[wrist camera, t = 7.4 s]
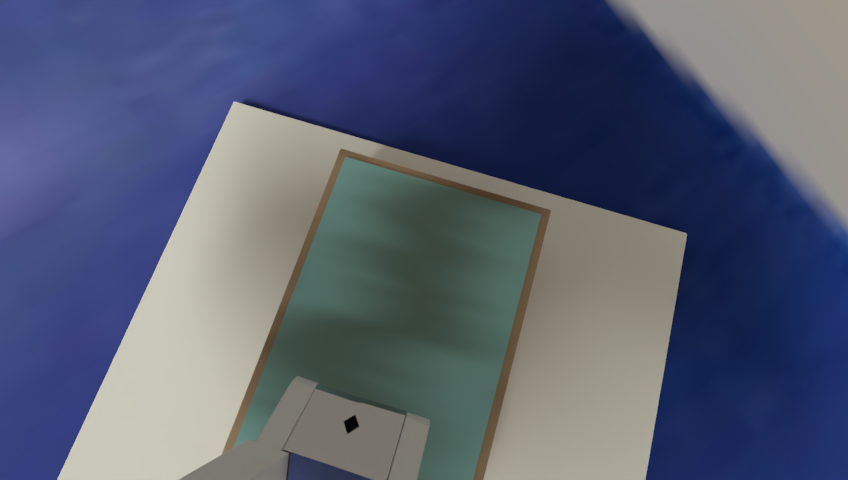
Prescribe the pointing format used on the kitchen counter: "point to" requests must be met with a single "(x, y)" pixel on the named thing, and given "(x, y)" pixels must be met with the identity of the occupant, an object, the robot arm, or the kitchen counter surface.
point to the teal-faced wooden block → (405, 306)
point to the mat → (269, 276)
